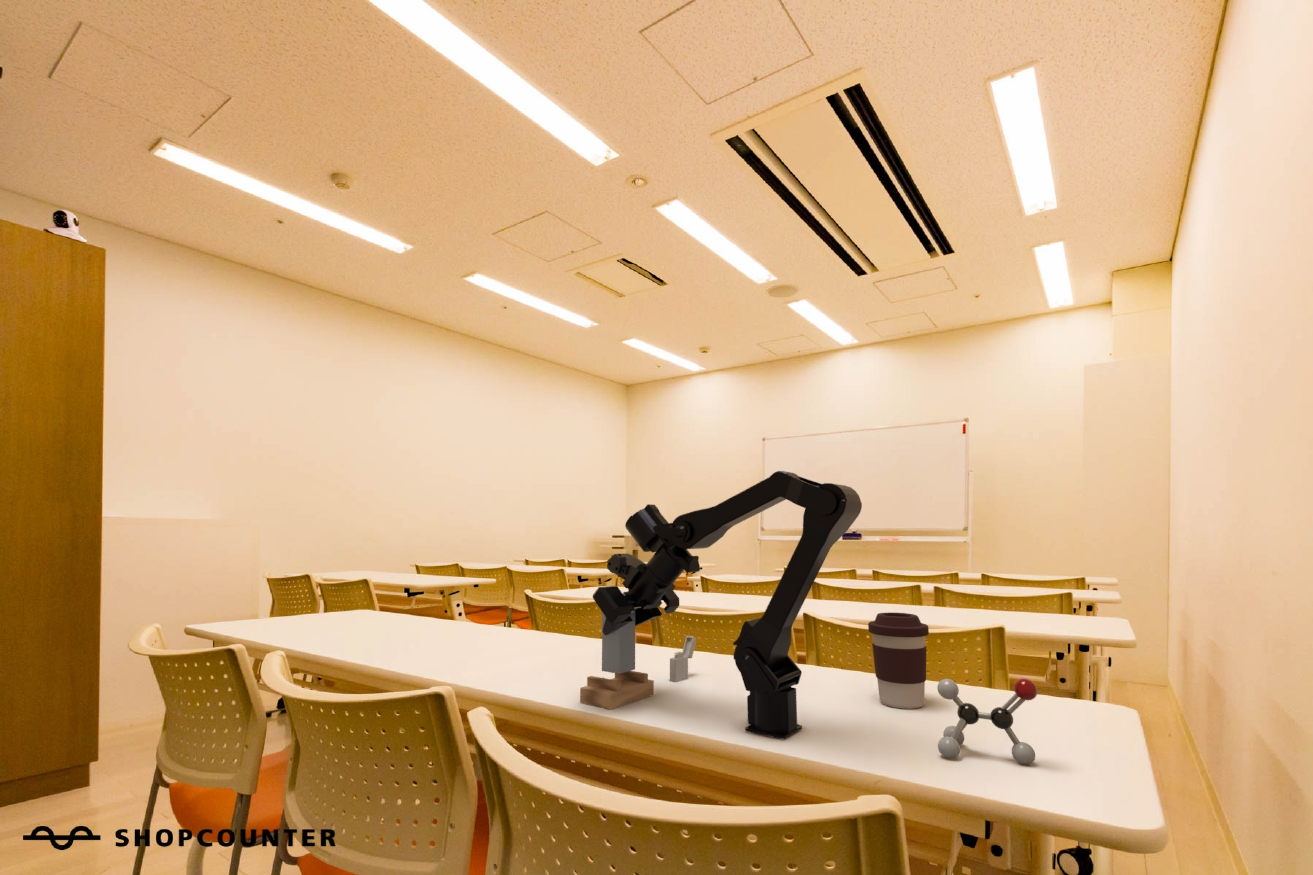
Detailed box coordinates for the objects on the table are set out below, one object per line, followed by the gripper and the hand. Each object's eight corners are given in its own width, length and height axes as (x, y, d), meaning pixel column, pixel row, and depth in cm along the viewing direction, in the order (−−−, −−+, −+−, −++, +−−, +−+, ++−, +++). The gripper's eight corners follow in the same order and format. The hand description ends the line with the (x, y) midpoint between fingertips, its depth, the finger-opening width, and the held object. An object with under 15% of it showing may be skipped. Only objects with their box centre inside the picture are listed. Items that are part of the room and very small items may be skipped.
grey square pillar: (635, 669, 114) (635, 595, 116) (619, 673, 110) (619, 597, 112) (618, 666, 116) (618, 594, 118) (601, 670, 113) (602, 596, 115)
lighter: (676, 682, 125) (676, 640, 126) (669, 680, 126) (669, 639, 127) (697, 675, 131) (696, 635, 132) (690, 674, 132) (689, 634, 133)
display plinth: (653, 694, 116) (653, 671, 116) (610, 709, 106) (610, 684, 107) (624, 688, 120) (624, 666, 120) (580, 702, 110) (580, 678, 111)
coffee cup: (946, 708, 107) (940, 616, 109) (899, 714, 103) (895, 619, 105) (903, 694, 116) (899, 610, 118) (859, 699, 112) (855, 612, 115)
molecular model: (945, 741, 90) (940, 663, 92) (1043, 757, 84) (1036, 673, 86) (937, 759, 83) (932, 674, 85) (1043, 777, 77) (1036, 686, 79)
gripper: (666, 537, 122) (621, 593, 127) (601, 538, 107) (554, 601, 112) (701, 581, 116) (653, 637, 121) (638, 588, 101) (586, 652, 106)
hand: (612, 631), depth 115 cm, fingers closed on grey square pillar, 4 cm apart
